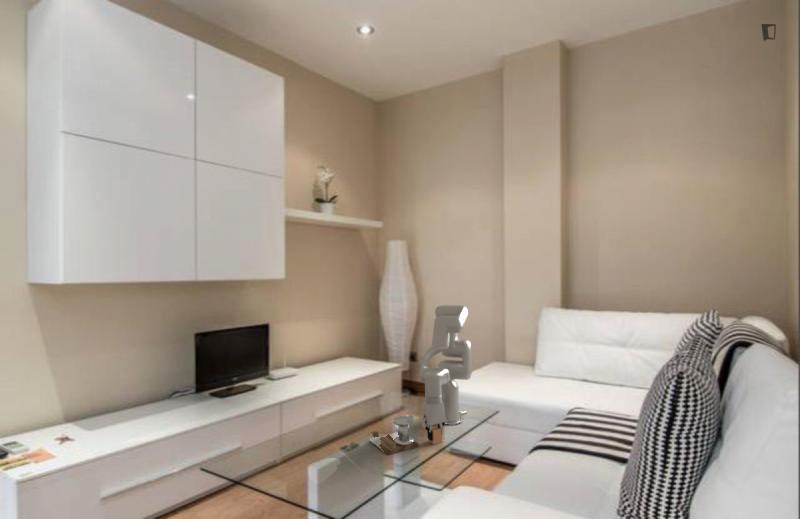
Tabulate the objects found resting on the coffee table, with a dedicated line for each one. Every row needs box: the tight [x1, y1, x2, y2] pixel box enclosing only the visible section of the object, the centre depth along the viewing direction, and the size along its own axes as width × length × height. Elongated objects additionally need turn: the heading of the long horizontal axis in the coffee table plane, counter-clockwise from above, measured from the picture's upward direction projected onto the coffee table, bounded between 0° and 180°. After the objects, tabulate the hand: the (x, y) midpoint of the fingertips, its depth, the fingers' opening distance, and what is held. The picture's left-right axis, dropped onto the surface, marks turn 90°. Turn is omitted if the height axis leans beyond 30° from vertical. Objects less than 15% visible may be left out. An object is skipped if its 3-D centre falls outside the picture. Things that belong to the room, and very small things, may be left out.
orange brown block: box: [427, 426, 443, 445], centre depth 206 cm, size 4×4×6 cm
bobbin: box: [393, 415, 415, 446], centre depth 204 cm, size 9×9×10 cm
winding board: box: [371, 430, 419, 456], centre depth 206 cm, size 16×18×4 cm
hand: (434, 438), depth 206 cm, fingers closed on orange brown block, 4 cm apart
